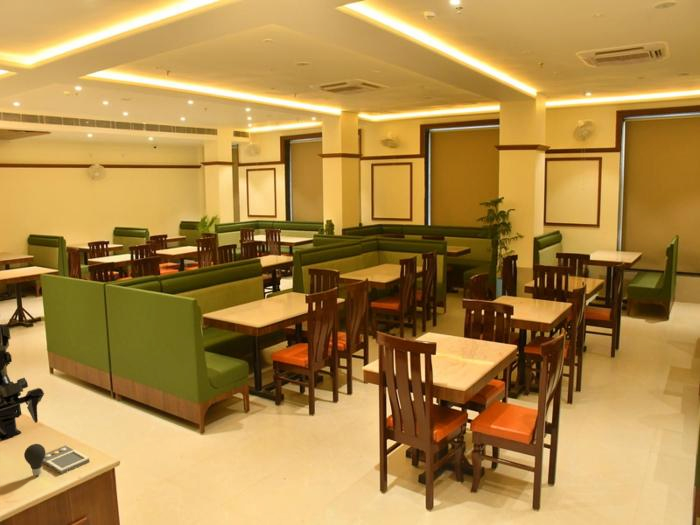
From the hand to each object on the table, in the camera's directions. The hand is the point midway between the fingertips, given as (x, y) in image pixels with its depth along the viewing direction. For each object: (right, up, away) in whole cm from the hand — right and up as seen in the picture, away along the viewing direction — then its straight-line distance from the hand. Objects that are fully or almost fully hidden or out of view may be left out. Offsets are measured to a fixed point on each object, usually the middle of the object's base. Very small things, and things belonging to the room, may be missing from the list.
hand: (21, 427), depth 177 cm
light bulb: (+6, -14, -2) cm, 16 cm away
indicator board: (+10, -12, +6) cm, 17 cm away
